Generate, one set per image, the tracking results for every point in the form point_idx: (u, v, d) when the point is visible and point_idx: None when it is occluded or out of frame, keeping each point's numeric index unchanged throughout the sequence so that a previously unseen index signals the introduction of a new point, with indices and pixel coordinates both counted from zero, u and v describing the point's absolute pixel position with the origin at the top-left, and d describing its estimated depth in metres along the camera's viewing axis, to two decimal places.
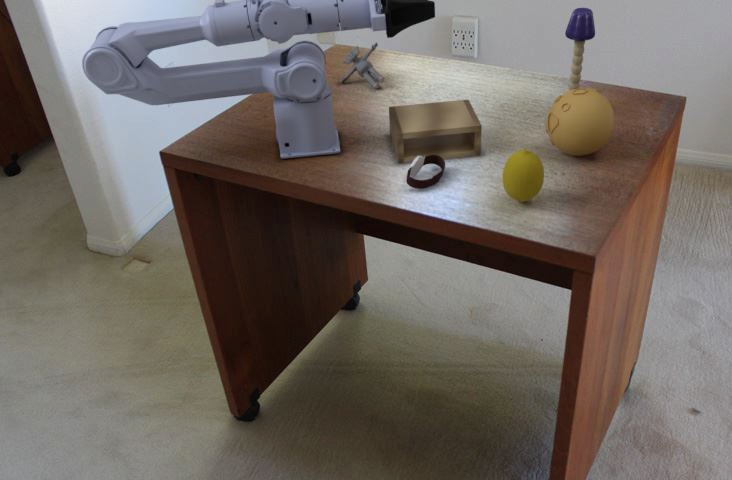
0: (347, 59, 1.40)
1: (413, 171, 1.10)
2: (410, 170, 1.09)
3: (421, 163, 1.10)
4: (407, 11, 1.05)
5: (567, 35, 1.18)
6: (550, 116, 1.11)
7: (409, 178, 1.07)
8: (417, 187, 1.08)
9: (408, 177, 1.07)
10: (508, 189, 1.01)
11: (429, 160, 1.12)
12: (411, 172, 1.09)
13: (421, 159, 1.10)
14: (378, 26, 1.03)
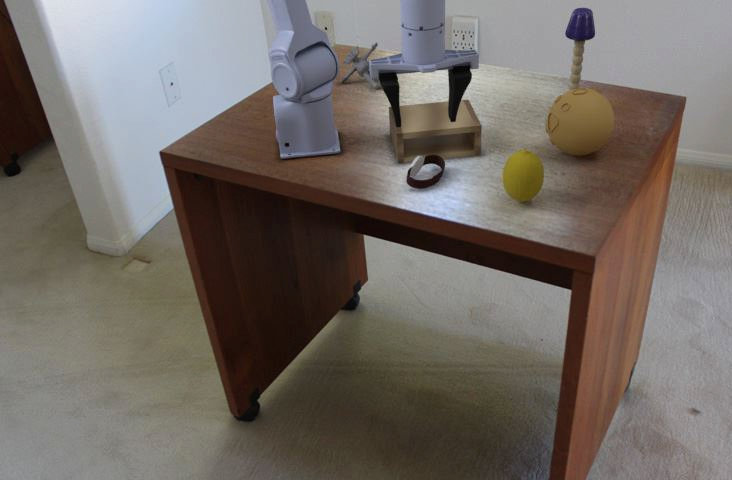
0: (347, 59, 1.40)
1: (413, 171, 1.10)
2: (410, 170, 1.09)
3: (421, 163, 1.10)
4: None
5: (567, 35, 1.18)
6: (550, 116, 1.11)
7: (409, 178, 1.07)
8: (417, 187, 1.08)
9: (408, 177, 1.07)
10: (508, 189, 1.01)
11: (429, 160, 1.12)
12: (411, 172, 1.09)
13: (421, 159, 1.10)
14: (369, 67, 1.00)
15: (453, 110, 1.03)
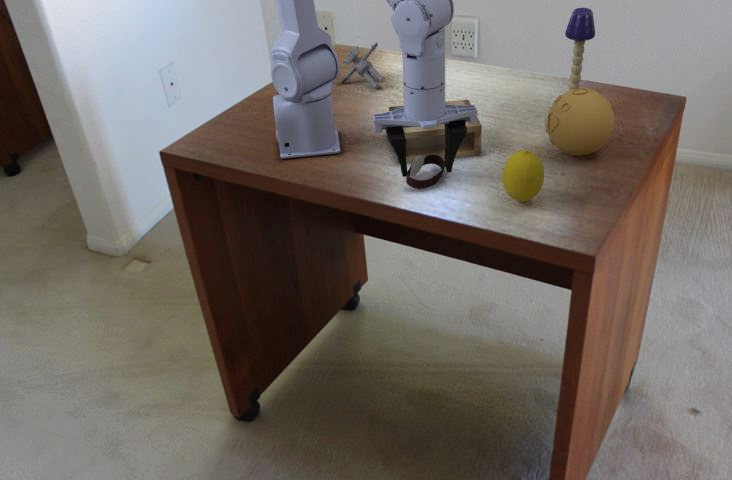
0: (347, 59, 1.40)
1: (413, 171, 1.10)
2: (410, 170, 1.09)
3: (421, 163, 1.10)
4: None
5: (567, 35, 1.18)
6: (550, 116, 1.11)
7: (409, 178, 1.07)
8: (417, 187, 1.08)
9: (408, 177, 1.07)
10: (508, 189, 1.01)
11: (429, 160, 1.12)
12: (411, 172, 1.09)
13: (421, 159, 1.10)
14: (373, 121, 1.04)
15: (449, 161, 1.07)
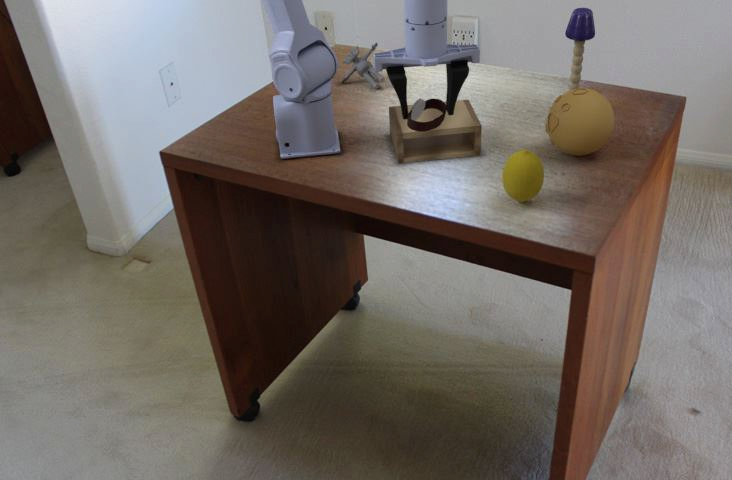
0: (347, 59, 1.40)
1: (414, 114, 1.08)
2: (411, 113, 1.07)
3: (422, 106, 1.08)
4: None
5: (567, 35, 1.18)
6: (550, 116, 1.11)
7: (410, 120, 1.05)
8: (418, 129, 1.05)
9: (409, 119, 1.05)
10: (508, 189, 1.01)
11: (430, 104, 1.10)
12: (412, 115, 1.07)
13: (422, 102, 1.08)
14: (373, 61, 1.02)
15: (451, 103, 1.05)
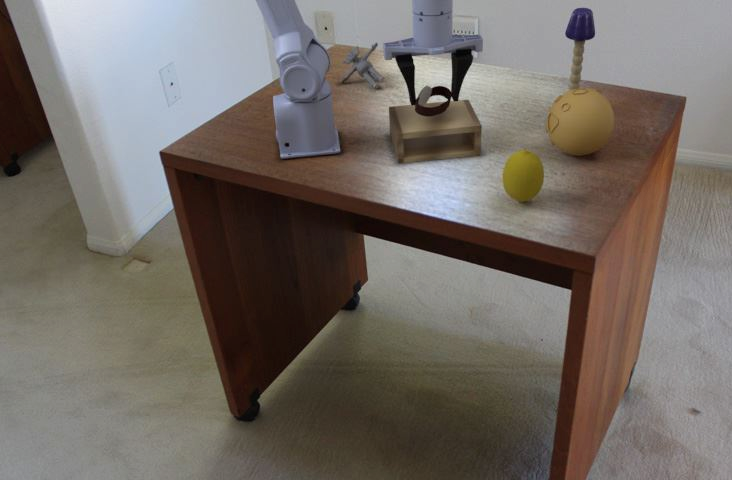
0: (347, 59, 1.40)
1: (421, 101, 1.15)
2: (418, 99, 1.14)
3: (428, 93, 1.16)
4: None
5: (567, 35, 1.18)
6: (550, 116, 1.11)
7: (417, 105, 1.12)
8: (425, 114, 1.13)
9: (416, 105, 1.12)
10: (508, 189, 1.01)
11: (436, 91, 1.17)
12: (419, 101, 1.14)
13: (429, 89, 1.15)
14: (383, 50, 1.09)
15: (456, 90, 1.13)
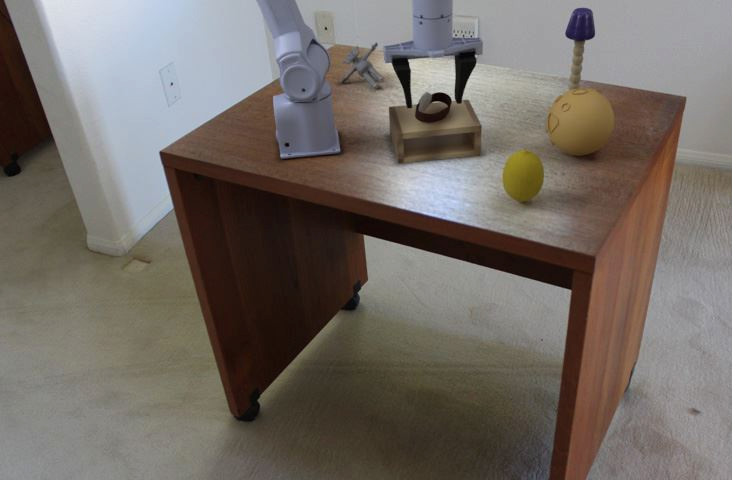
0: (347, 59, 1.40)
1: (421, 107, 1.15)
2: (418, 105, 1.14)
3: (428, 100, 1.16)
4: None
5: (567, 35, 1.18)
6: (550, 116, 1.11)
7: (417, 112, 1.13)
8: (425, 120, 1.13)
9: (417, 111, 1.13)
10: (508, 189, 1.01)
11: (436, 98, 1.18)
12: (419, 108, 1.15)
13: (429, 95, 1.16)
14: (383, 53, 1.10)
15: (459, 92, 1.13)
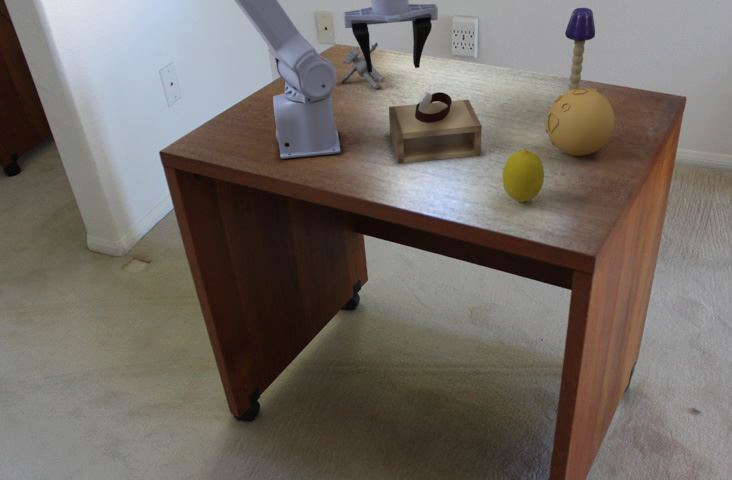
0: (347, 59, 1.40)
1: (421, 107, 1.15)
2: (418, 105, 1.14)
3: (428, 99, 1.16)
4: None
5: (567, 35, 1.18)
6: (550, 116, 1.11)
7: (417, 112, 1.13)
8: (425, 120, 1.13)
9: (417, 111, 1.13)
10: (508, 189, 1.01)
11: (436, 98, 1.18)
12: (419, 108, 1.15)
13: (429, 95, 1.16)
14: None
15: (416, 57, 1.19)
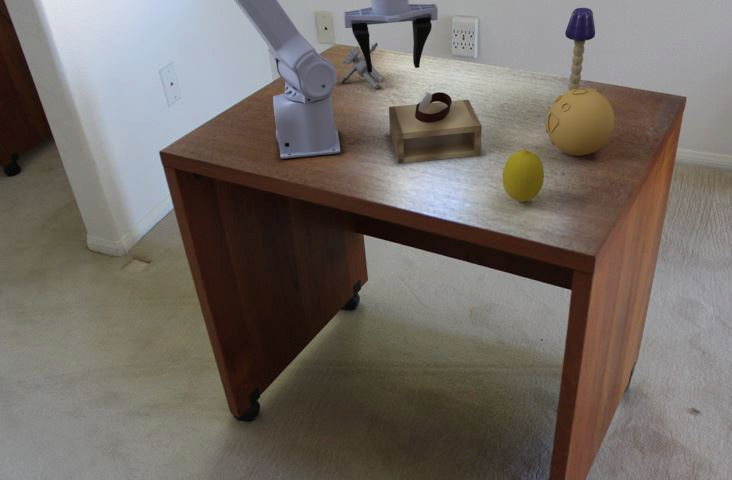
0: (347, 59, 1.40)
1: (421, 107, 1.15)
2: (418, 105, 1.14)
3: (428, 99, 1.16)
4: None
5: (567, 35, 1.18)
6: (550, 116, 1.11)
7: (417, 112, 1.13)
8: (425, 120, 1.13)
9: (417, 111, 1.13)
10: (508, 189, 1.01)
11: (436, 98, 1.18)
12: (419, 108, 1.15)
13: (429, 95, 1.16)
14: None
15: (416, 57, 1.19)
